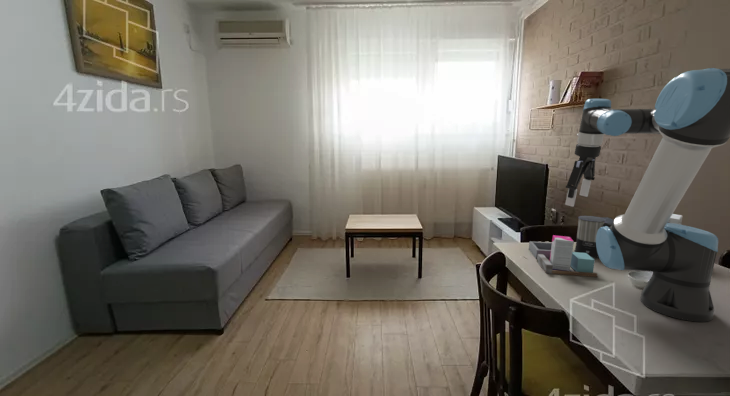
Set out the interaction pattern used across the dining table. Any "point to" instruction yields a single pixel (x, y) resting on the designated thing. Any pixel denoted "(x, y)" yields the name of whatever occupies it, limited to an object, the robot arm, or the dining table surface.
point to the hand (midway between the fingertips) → (576, 200)
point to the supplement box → (561, 252)
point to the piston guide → (548, 268)
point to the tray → (540, 248)
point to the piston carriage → (582, 262)
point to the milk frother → (588, 234)
